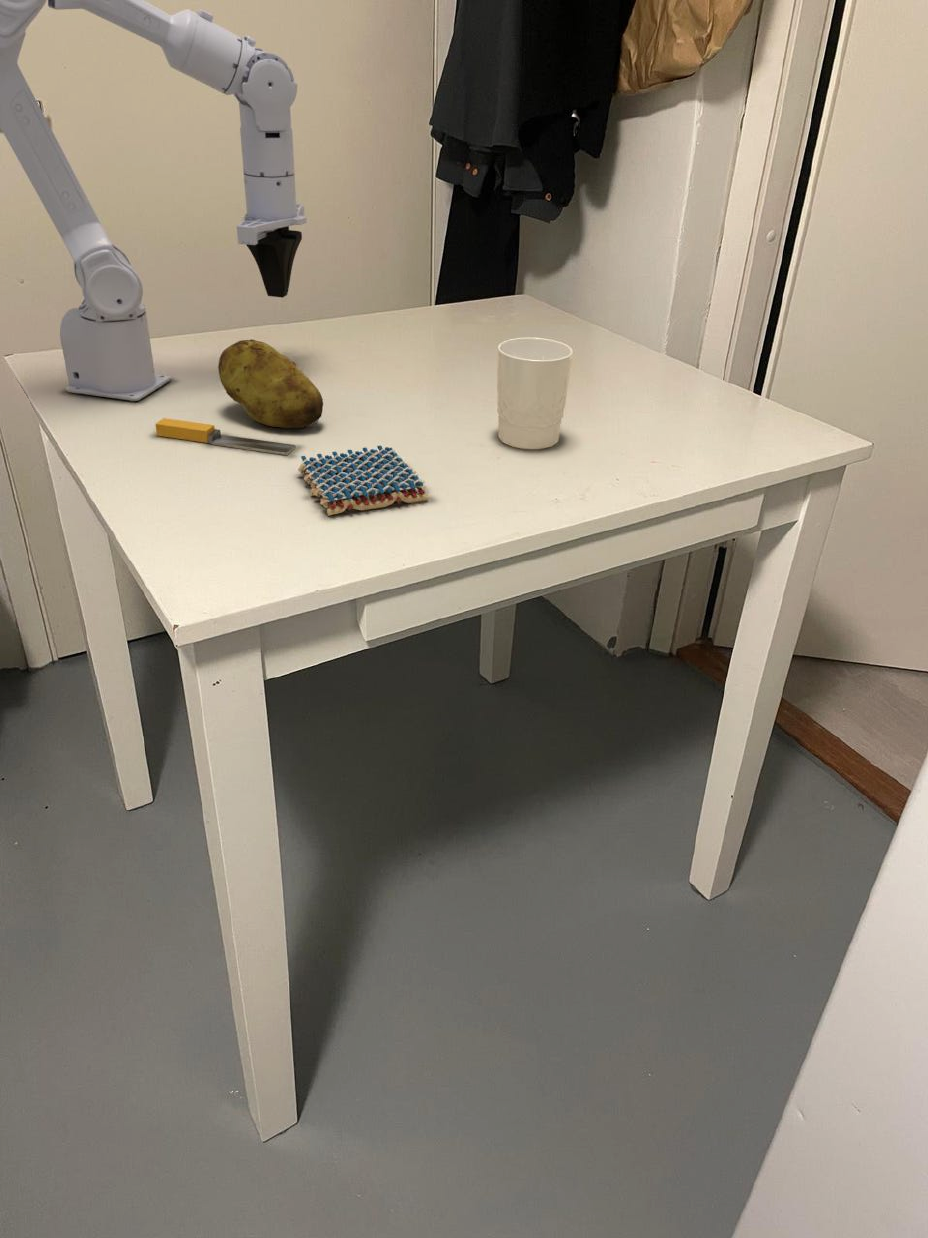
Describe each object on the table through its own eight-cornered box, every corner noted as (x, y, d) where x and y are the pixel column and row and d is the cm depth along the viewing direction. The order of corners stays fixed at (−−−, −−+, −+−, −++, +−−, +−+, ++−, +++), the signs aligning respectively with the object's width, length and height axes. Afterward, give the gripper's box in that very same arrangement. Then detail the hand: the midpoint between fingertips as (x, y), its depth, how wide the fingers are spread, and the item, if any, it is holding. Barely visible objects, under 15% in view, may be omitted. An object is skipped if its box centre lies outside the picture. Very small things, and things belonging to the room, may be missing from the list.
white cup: (571, 431, 108) (580, 343, 103) (553, 457, 102) (562, 364, 97) (504, 420, 110) (510, 333, 105) (483, 445, 104) (488, 354, 99)
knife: (155, 436, 103) (153, 424, 102) (166, 429, 105) (164, 416, 104) (287, 455, 100) (286, 442, 99) (295, 447, 102) (294, 435, 101)
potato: (264, 445, 102) (258, 371, 98) (212, 407, 110) (204, 338, 106) (332, 429, 106) (329, 358, 102) (277, 394, 115) (272, 327, 110)
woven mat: (326, 520, 88) (325, 500, 87) (295, 473, 96) (294, 455, 95) (431, 503, 92) (432, 483, 91) (393, 460, 100) (393, 441, 99)
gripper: (275, 185, 102) (284, 314, 110) (325, 167, 114) (330, 284, 122) (215, 180, 104) (227, 307, 111) (270, 162, 116) (278, 278, 123)
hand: (277, 295), depth 117 cm, fingers closed
